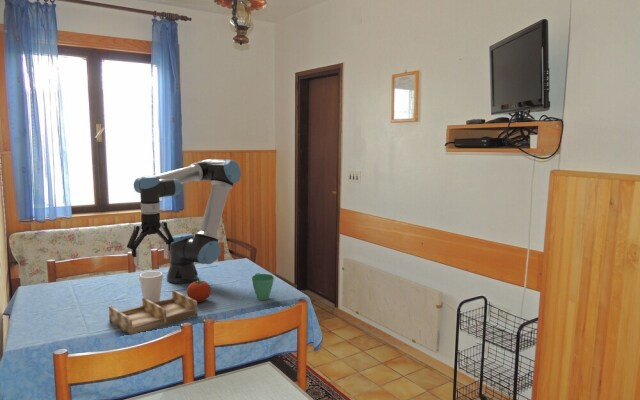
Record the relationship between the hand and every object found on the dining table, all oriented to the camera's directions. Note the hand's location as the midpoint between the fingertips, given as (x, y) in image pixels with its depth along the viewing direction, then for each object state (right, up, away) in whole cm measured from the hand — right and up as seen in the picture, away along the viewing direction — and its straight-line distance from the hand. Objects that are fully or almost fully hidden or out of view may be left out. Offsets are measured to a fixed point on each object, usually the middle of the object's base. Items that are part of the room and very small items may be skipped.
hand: (151, 261), depth 196 cm
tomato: (+19, -19, +6) cm, 27 cm away
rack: (+6, -21, -13) cm, 26 cm away
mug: (+45, -18, +14) cm, 51 cm away
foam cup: (-1, -19, +3) cm, 19 cm away
